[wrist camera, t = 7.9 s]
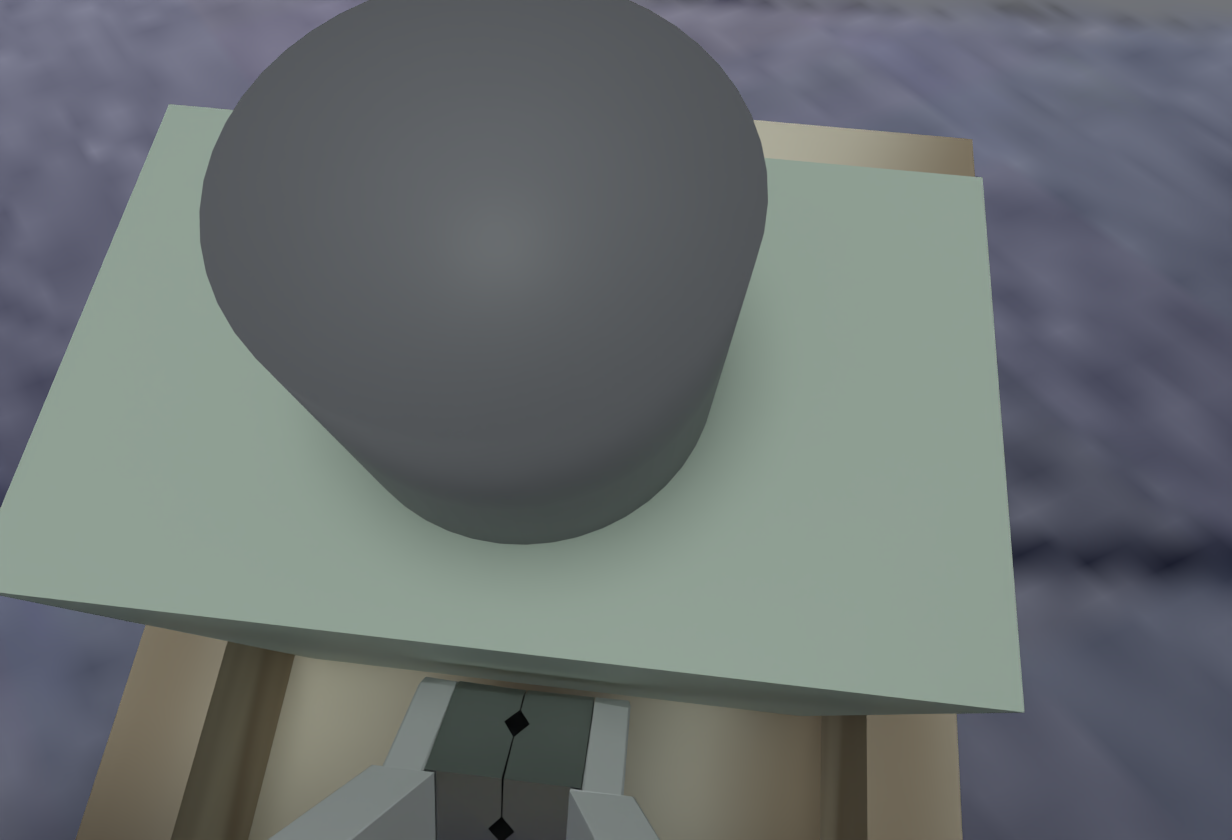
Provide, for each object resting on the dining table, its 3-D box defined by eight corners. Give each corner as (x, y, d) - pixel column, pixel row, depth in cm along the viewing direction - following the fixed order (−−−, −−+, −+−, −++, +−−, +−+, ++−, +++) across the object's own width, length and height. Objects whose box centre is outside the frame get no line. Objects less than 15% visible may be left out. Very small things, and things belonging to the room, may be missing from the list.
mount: (867, 308, 21) (972, 139, 15) (877, 1219, 14) (1081, 1607, 8) (363, 259, 21) (263, 76, 15) (131, 1112, 14) (-218, 1396, 8)
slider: (806, 437, 17) (1145, -63, 6) (800, 716, 15) (1299, 707, 4) (378, 392, 18) (-18, -153, 7) (312, 658, 16) (-434, 507, 5)
